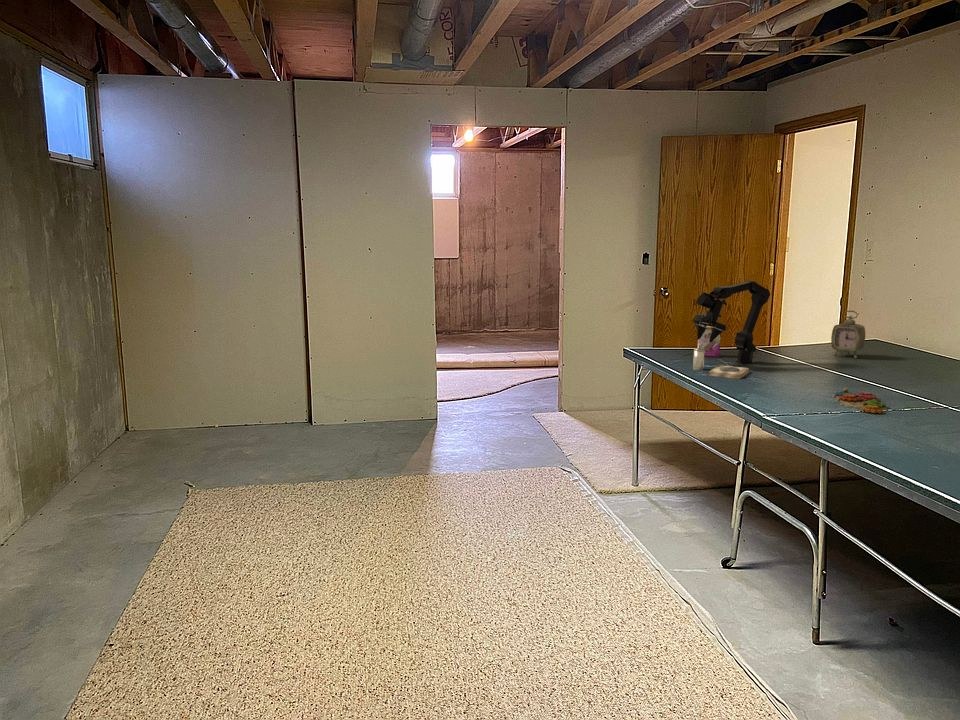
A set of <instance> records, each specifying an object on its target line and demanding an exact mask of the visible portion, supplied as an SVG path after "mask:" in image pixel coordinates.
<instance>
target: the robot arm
mask: <svg viewBox="0 0 960 720" xmlns="http://www.w3.org/2000/svg"><path fill="white" fill-rule="evenodd" d="M745 291H748V293H750V294H751V306H750V308H749V312H748V314H747V317H746V320H745V323H744V325H743V328H742V330H741V331H740V332H738V331H737V332H736V334H735V337H734V345H735V347H736V348H735V349H736V350H737V351H738V354H737V360H736V362H737V363H739V364H744V365H746V364H755V362H754V361H753V359H754V353H756V351H757V346H756V345H755V344H754V343H753V342H754V334H753V332H754V330H755V326H756V324H757V321H758V319H759V316H760V313H761V310H762V308H763V306H764V305H765V304H766V303H767V302H768V301H769V299H770V297H771V292H770V290H769V289H768V288H765V287H764V286H762V285H760V284H759V283H757V281H755V280H747V281H744V282H741V283H737V284H732V285H728V286H726V285H725V286H715V287H714V288H713V290H712V291H710V292H709V293H707V292H705V291H702V293H701V294H700V295H699V296H698V297H697V298H696V304H697V305H698V306H700V307H703V308H705V309H708V311H707V310H706V311H705V312H704V313H696V314H695V318H694V320H693V322H692V323H693V324H694V326H695V328H696V331H697V332H696V333H697V334H696V335H697V336H696V338H697V339H696V340H697V341H698V340H700V338H701V337H702V335H703V333H704V332H705V330H706V328H705V327H706V326H711V330H712V333H711V336H710V340H709V342H712V341H713V340H714V339H715V338H716V337H717V336H718V335H719V334H721V335H722V333H724V332H726V331H727V325H726V324H724V323H721V322H718V320H719V318H722V315H721V312H722V309H723V306H728V303H727V302H726V299H728V298H730V297H731V296H732V295H734V294H739V293H742V292H745ZM712 327H714V328H712Z"/></svg>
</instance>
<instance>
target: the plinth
mask: <svg viewBox="0 0 960 720" xmlns="http://www.w3.org/2000/svg"><path fill="white" fill-rule="evenodd" d="M749 371H750V368H749V367H739V366H731V365H717V366H716V367H714V368H712V369H711V370H710V371H708V376H709V377H718V378H729V379H734V380H735V379H737V380H740V379H741V378H743V377H744V376H746V375H747V374H748V373H749Z"/></svg>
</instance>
